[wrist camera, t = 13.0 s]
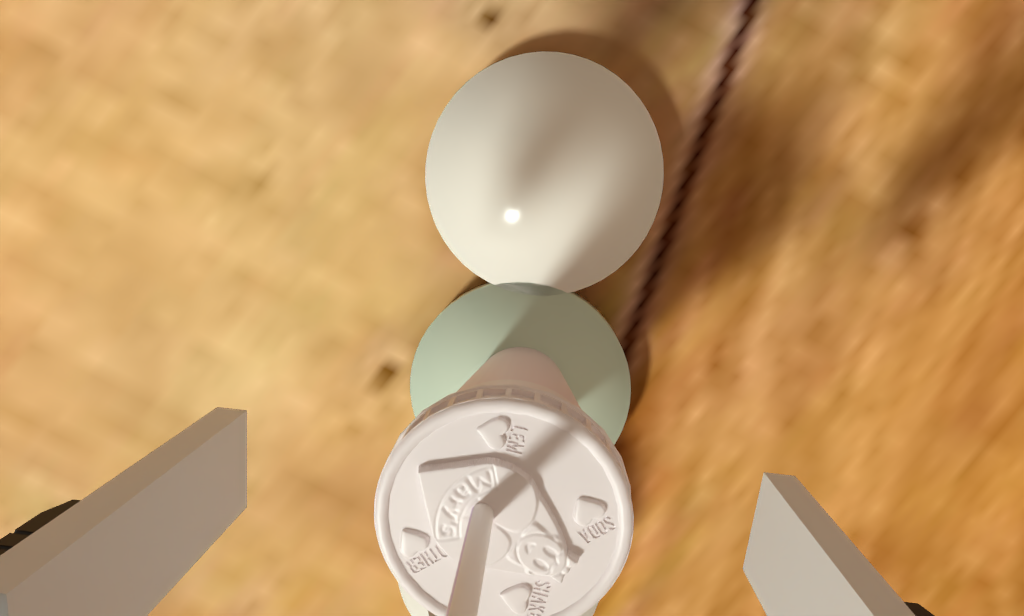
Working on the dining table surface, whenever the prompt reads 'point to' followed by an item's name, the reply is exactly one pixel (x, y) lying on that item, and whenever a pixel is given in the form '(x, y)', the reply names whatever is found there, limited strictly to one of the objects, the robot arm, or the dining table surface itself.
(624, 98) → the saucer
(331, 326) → the dining table surface
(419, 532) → the smoothie
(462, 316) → the saucer mid
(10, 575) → the robot arm
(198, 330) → the dining table surface
